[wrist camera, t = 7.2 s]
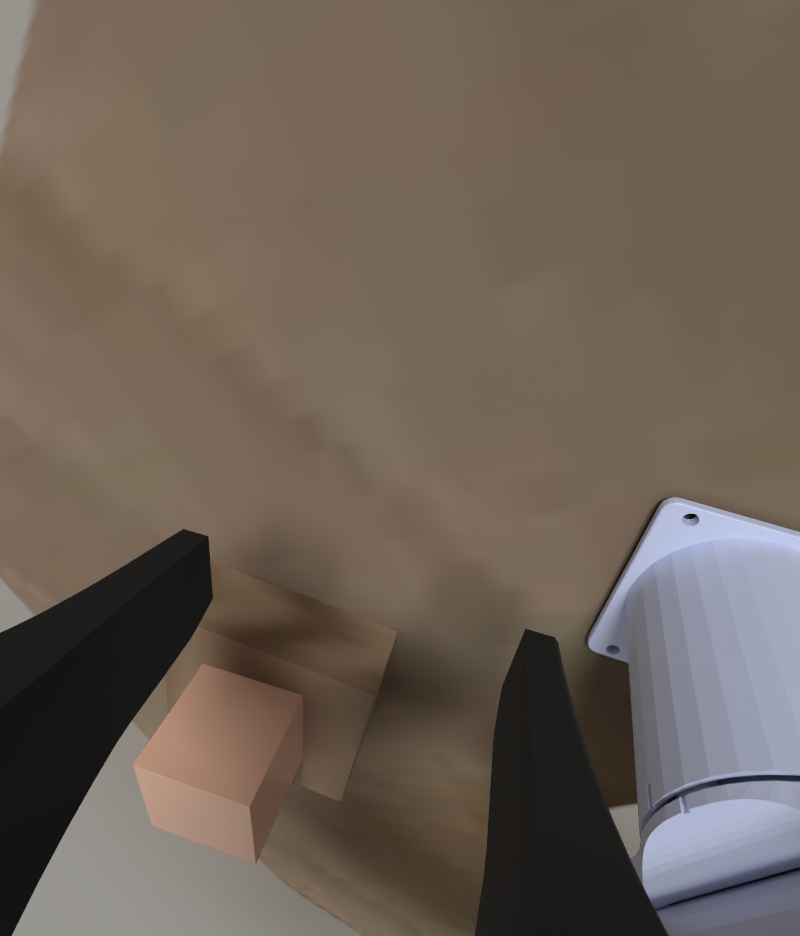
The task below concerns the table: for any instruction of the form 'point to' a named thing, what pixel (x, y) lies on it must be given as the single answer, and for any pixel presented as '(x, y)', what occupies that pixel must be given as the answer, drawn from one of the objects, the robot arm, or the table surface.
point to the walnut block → (294, 665)
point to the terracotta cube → (223, 762)
